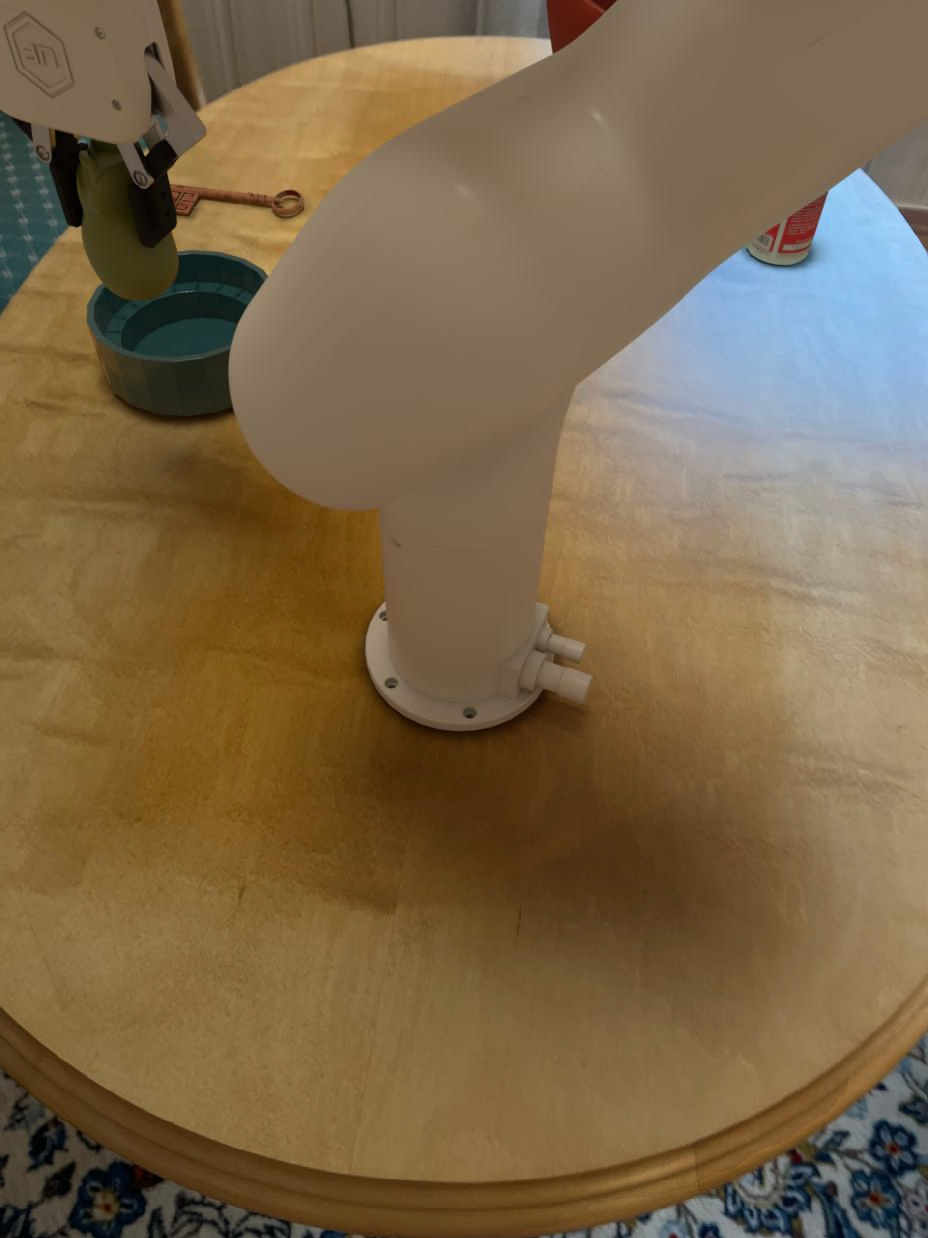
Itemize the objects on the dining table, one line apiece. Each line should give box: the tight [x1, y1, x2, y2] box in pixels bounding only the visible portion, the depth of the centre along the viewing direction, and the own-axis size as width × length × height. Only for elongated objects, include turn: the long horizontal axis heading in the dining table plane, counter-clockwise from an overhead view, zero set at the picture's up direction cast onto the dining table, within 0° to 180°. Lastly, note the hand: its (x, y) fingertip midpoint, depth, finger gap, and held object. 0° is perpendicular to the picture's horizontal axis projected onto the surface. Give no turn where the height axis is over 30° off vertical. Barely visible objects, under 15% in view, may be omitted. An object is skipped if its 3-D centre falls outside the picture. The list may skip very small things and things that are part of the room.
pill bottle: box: [746, 190, 830, 266], centre depth 92 cm, size 6×6×11 cm
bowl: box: [86, 249, 269, 417], centre depth 82 cm, size 15×15×6 cm
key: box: [170, 183, 304, 216], centre depth 99 cm, size 6×1×15 cm
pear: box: [77, 139, 179, 301], centre depth 61 cm, size 6×5×10 cm
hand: (122, 223), depth 61 cm, fingers closed on pear, 4 cm apart
